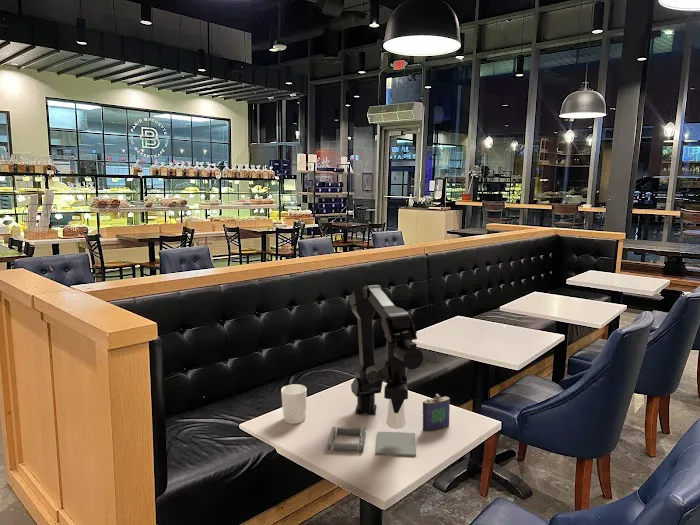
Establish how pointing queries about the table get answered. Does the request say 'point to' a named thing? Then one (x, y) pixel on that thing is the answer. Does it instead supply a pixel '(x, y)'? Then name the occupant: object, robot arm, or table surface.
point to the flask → (436, 413)
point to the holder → (346, 445)
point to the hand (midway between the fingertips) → (396, 409)
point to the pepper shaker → (395, 417)
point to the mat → (396, 444)
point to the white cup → (294, 403)
